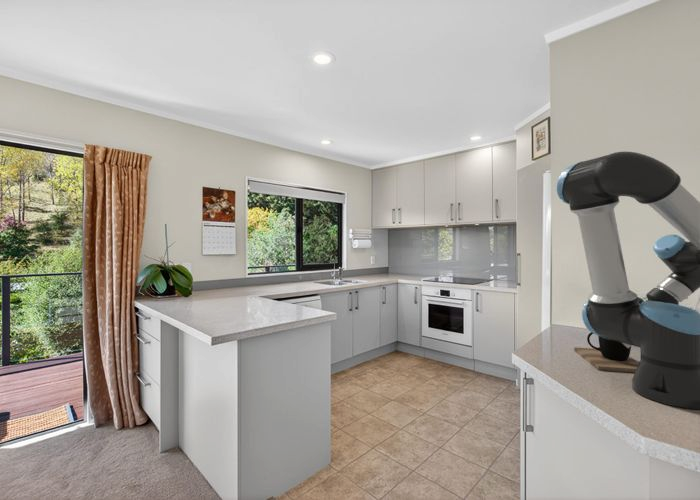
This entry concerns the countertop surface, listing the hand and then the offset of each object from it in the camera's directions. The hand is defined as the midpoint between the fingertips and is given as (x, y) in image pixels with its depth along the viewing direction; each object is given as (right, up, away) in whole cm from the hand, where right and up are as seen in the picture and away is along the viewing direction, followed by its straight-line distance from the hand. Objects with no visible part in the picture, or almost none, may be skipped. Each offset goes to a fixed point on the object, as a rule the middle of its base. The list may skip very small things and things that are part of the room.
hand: (613, 338), depth 112 cm
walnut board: (-1, -7, 0) cm, 8 cm away
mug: (-1, -6, 0) cm, 7 cm away
